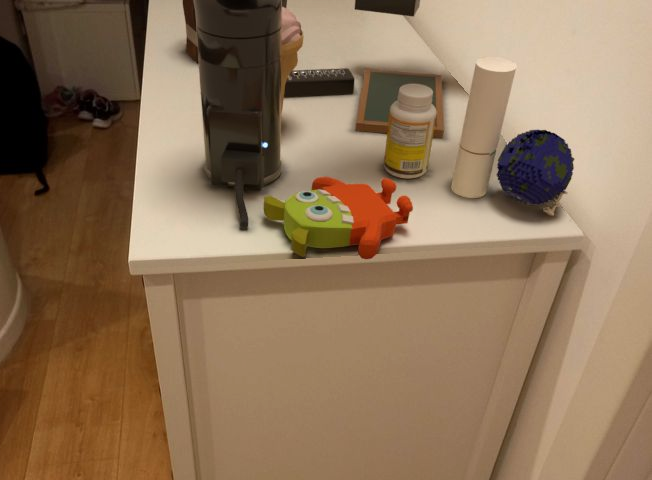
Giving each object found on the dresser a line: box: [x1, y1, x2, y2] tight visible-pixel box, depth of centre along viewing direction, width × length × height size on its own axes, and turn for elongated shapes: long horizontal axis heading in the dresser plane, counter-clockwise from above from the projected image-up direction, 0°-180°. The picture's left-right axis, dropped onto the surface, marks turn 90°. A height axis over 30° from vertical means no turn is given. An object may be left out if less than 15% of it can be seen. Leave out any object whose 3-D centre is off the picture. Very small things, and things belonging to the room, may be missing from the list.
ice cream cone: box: [281, 7, 304, 116], centre depth 89 cm, size 11×11×20 cm
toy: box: [263, 176, 414, 260], centre depth 75 cm, size 15×4×15 cm
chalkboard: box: [355, 68, 445, 139], centre depth 102 cm, size 20×12×1 cm, turn 173°
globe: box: [496, 129, 575, 217], centre depth 79 cm, size 8×8×8 cm
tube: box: [450, 56, 517, 199], centre depth 79 cm, size 4×4×15 cm
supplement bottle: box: [383, 84, 437, 179], centre depth 84 cm, size 6×6×10 cm
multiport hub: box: [284, 67, 356, 98], centre depth 104 cm, size 4×11×2 cm, turn 101°
